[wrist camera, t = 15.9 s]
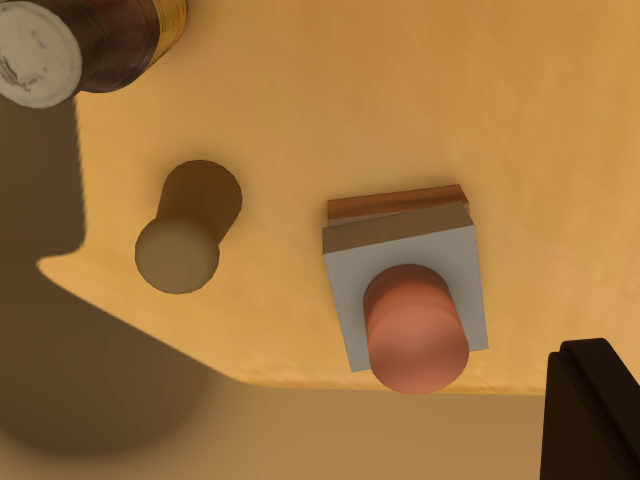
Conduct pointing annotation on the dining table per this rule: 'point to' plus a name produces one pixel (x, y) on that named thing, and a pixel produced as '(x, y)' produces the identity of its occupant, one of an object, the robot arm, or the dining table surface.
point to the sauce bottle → (81, 45)
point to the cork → (188, 227)
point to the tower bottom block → (391, 204)
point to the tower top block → (404, 248)
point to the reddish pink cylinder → (413, 330)
